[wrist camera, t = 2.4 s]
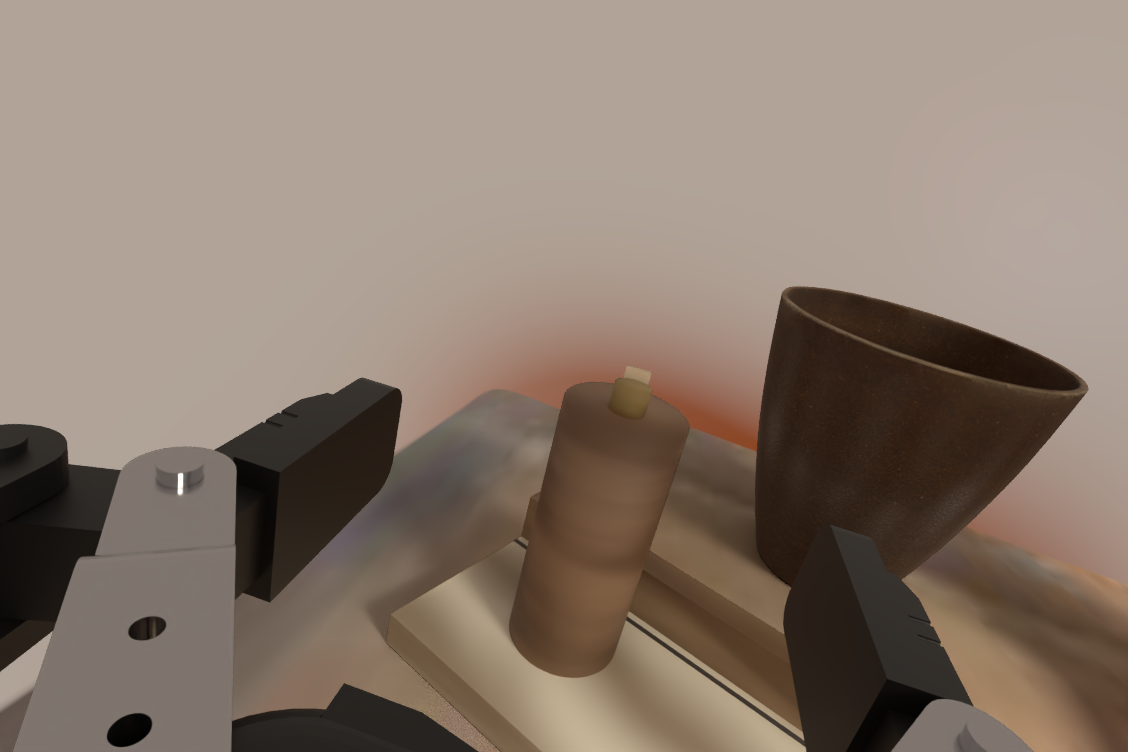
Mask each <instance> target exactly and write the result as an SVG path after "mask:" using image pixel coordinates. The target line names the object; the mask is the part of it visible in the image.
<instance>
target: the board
mask: <svg viewBox="0 0 1128 752" xmlns="http://www.w3.org/2000/svg"><path fill="white" fill-rule="evenodd" d="M539 497H540V492H539V493H537V494H535V495H533V496H532V497H531V498H530V502H529V506H528V510H527V515H526V519H525V523H524V527H523V531H522V536H521V537H519V538H518V539H515V540H514V541H513V542H511V543H509V544H508V545H506V546H504V547H503V548H501V549H499V550H498V551H496V552H494V553H492V554H491V555H489V556H487V557H486V558H484V559H482V560H481V561H479V562H477V563H476V564H474V565H472V566H470V567H469V568H467V569H465V570H464V571H462V572H460V573H459V574H457V575H455V576H454V577H452V578H450V579H449V580H447V581H445V582H443V583H442V584H440V585H438V586H437V587H435V588H433V589H432V590H430V591H428V592H427V593H425V594H423V595H422V596H420V597H418V598H416V599H415V600H413V601H411V602H410V603H408V604H406V605H405V606H403V607H401V608H400V609H398V610H396V611H395V612H393V613H391V614H390V620H389V627H388V634H387V640H386V643H387V644H388V645H389V646H391V647H392V648H393V649H394V650H395V651H396V652H397V653H398V654H399V655H400V656H401V657H402V658H403V659H404V660H405V661H406V662H407V663H408V664H409V665H411V666H412V667H413V668H414V669H415V670H416V671H417V672H418V673H419V674H420V675H421V676H422V677H423V678H424V679H425V680H426V681H427V682H428V683H429V684H431V685H432V686H433V687H434V688H435V689H436V690H437V691H438V692H439V693H440V694H441V695H442V696H443V697H444V698H445V699H446V700H447V701H448V702H449V703H451V704H452V705H453V706H454V707H455V708H456V709H457V710H458V711H459V712H460V713H461V714H462V715H463V716H464V717H465V718H466V719H467V720H468V721H469V722H471V723H472V724H473V725H474V726H475V727H476V728H477V729H478V730H479V731H480V732H481V733H482V734H483V735H484V736H485V737H486V738H487V739H488V740H489V741H491V742H492V743H493V744H494V745H495V746H496V747H497V748H498V749H499V750H500V751H501V752H806V747H805V741H804V736H803V731H802V725H801V720H800V714H799V709H798V703H797V698H796V693H795V687H794V682H793V676H792V671H791V665H790V660H789V655H788V649H787V644H786V638H785V635H784V634H782V633H781V632H779V631H777V630H776V629H774V628H773V627H771V626H769V625H768V624H766V623H765V622H763V621H761V620H760V619H758V618H757V617H755V616H753V615H752V614H750V613H749V612H747V611H745V610H744V609H742V608H741V607H739V606H737V605H736V604H734V603H733V602H731V601H729V600H728V599H726V598H724V597H723V596H721V595H720V594H718V593H716V592H715V591H713V590H712V589H710V588H708V587H707V586H705V585H704V584H702V583H700V582H699V581H697V580H696V579H694V578H692V577H691V576H689V575H688V574H686V573H684V572H683V571H681V570H680V569H678V568H676V567H675V566H673V565H672V564H670V563H668V562H667V561H665V560H664V559H662V558H660V557H659V556H657V555H656V554H654V553H652V552H651V551H649V552H648V555H647V558H646V561H645V564H644V567H643V570H642V573H641V576H640V579H639V582H638V585H637V588H636V591H635V594H634V597H633V600H632V603H631V606H630V609H629V612H628V615H627V618H626V621H625V624H624V627H623V630H622V633H621V636H620V639H619V642H618V645H617V648H616V651H615V654H614V656H613V658H612V660H611V662H610V663H609V664H608V665H607V666H606V667H605V668H604V669H603V670H601V671H600V672H598V673H596V674H593V675H590V676H587V677H581V678H567V677H561V676H556V675H553V674H550V673H547V672H545V671H543V670H541V669H539V668H537V667H535V666H534V665H532V664H531V663H530V662H528V661H527V660H526V659H525V658H524V657H523V656H522V655H521V654H520V653H519V651H518V650H517V649H516V647H515V645H514V643H513V642H512V639H511V636H510V632H509V620H510V616H511V612H512V607H513V603H514V599H515V595H516V591H517V587H518V583H519V579H520V575H521V571H522V566H523V562H524V558H525V554H526V550H527V546H528V542H529V538H530V534H531V529H532V525H533V521H534V517H535V513H536V509H537V505H538V501H539Z"/></svg>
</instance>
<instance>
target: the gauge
mask: <svg viewBox="0 0 1128 752" xmlns="http://www.w3.org/2000/svg"><path fill="white" fill-rule="evenodd" d="M650 376H651V372H649V371H645V370H642V369H638V368H635V367H631V366H627V368H626V371H625V374H624V376H623V378H618V379H616V380H615V384H613V383H603V382H588V383H581V384H577V385H574V386H572V387H570V388H569V389H567V391H566V392H565V394H564V398H563V402H562V406H561V410H560V414H559V418H558V423H557V427H556V431H555V435H554V439H553V443H552V447H551V451H550V455H549V460H548V464H547V468H546V472H545V476H544V480H543V484H542V488H541V492H540V497H539V501H538V505H537V509H536V513H535V517H534V521H533V525H532V529H531V534H530V538H529V542H528V546H527V550H526V554H525V558H524V562H523V566H522V571H521V575H520V579H519V583H518V587H517V591H516V595H515V599H514V603H513V607H512V612H511V616H510V620H509V632H510V636H511V639H512V642H513V643H514V645H515V647H516V649H517V650H518V651H519V653H520V654H521V655H522V656H523V657H524V658H525V659H526V660H527V661H528V662H530V663H531V664H532V665H534V666H535V667H537V668H539V669H541V670H543V671H545V672H547V673H550V674H553V675H556V676H561V677H567V678H581V677H587V676H590V675H593V674H596V673H598V672H600V671H601V670H603V669H604V668H605V667H606V666H607V665H608V664H609V663H610V662H611V660H612V658H613V656H614V654H615V651H616V648H617V645H618V642H619V639H620V636H621V633H622V630H623V627H624V624H625V621H626V618H627V615H628V612H629V609H630V606H631V603H632V600H633V597H634V594H635V591H636V588H637V585H638V582H639V579H640V576H641V573H642V570H643V567H644V564H645V561H646V558H647V555H648V552H649V549H650V546H651V543H652V540H653V537H654V534H655V531H656V529H657V526H658V523H659V520H660V517H661V514H662V511H663V508H664V505H665V502H666V499H667V496H668V493H669V490H670V487H671V484H672V481H673V478H674V475H675V472H676V469H677V466H678V463H679V460H680V457H681V454H682V451H683V448H684V445H685V442H686V439H687V436H688V433H689V429H690V428H689V423H688V421H687V419H686V418H685V416H684V415H683V414H682V413H681V412H680V411H679V410H677V409H676V408H675V407H674V406H672V405H670V404H669V403H668V402H666V401H664V400H662V399H660V398H658V397H656V396H654V395H652V394H651V393H652V389H651V387H650V386H648V384H649V380H650Z"/></svg>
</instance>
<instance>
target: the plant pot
mask: <svg viewBox="0 0 1128 752" xmlns="http://www.w3.org/2000/svg"><path fill="white" fill-rule="evenodd" d="M1087 391H1088V385H1087V384H1086V382H1085V381H1084V380H1083V379H1082V378H1080V377H1079V376H1078V375H1076V374H1075V373H1074V372H1072V371H1070V370H1069V369H1067V368H1065V367H1064V366H1062V365H1060V364H1058V363H1056V362H1054V361H1053V360H1051V359H1049V358H1046V357H1044V356H1042V355H1040V354H1038V353H1036V352H1034V351H1032V350H1029V349H1027V348H1025V347H1023V346H1020V345H1018V344H1015V343H1013V342H1010V341H1007V340H1005V339H1003V338H1000V337H997V336H995V335H992V334H989V333H987V332H984V331H981V330H979V329H975V328H972V327H969V326H967V325H964V324H961V323H958V322H955V321H952V320H949V319H946V318H943V317H940V316H936V315H933V314H930V313H927V312H923V311H920V310H916V309H913V308H910V307H906V306H902V305H899V304H895V303H891V302H888V301H884V300H879V299H875V298H871V297H867V296H863V295H858V294H854V293H848V292H844V291H838V290H831V289H825V288H816V287H789V288H787V289H785V290H784V291H783V292H782V296H781V300H780V305H779V310H778V315H777V319H776V324H775V329H774V334H773V339H772V344H771V349H770V354H769V359H768V365H767V371H766V377H765V384H764V390H763V396H762V405H761V412H760V421H759V431H758V443H757V459H756V482H755V515H756V539H757V548H758V551H759V553H760V555H761V557H762V559H763V560H764V561H765V563H766V564H767V565H768V567H769V568H770V569H771V570H772V571H773V572H774V573H775V574H776V575H777V576H779V577H780V578H781V579H782V580H784V581H785V582H786V583H788V584H789V585H790V586H793V583H794V581H795V579H796V577H797V575H798V573H799V570H800V568H801V566H802V564H803V562H804V560H805V558H806V555H807V553H808V551H809V549H810V547H811V545H812V542H813V540H814V538H815V536H816V534H817V532H818V531H819V529H820V528H821V527H822V526H823V525H825V524H829V525H833V526H836V527H839V528H842V529H845V530H849V531H852V532H855V533H858V534H861V535H864V536H868V537H870V538H871V539H872V540H873V541H874V544H875V546H876V548H877V550H878V552H879V554H880V556H881V559H882V561H883V563H884V565H885V567H886V569H887V571H888V572H889V573H892V574H895V575H897V576H898V577H899V578H900V579H903V578H904V577H905V576H907V575H908V574H909V573H911V572H912V571H913V570H915V569H916V568H917V567H919V566H920V565H921V564H922V563H923V562H925V561H926V560H927V559H928V558H930V557H931V556H932V555H933V554H935V553H936V552H937V551H938V550H940V549H941V548H942V547H943V546H944V545H945V544H946V543H948V542H949V541H950V540H951V539H952V538H953V537H954V536H956V535H957V534H958V533H959V532H960V531H961V530H962V529H963V528H964V527H965V526H966V525H968V524H969V523H970V522H971V521H972V520H973V519H974V518H975V517H976V516H977V515H978V514H979V513H980V512H981V511H982V510H983V509H984V508H985V507H986V506H987V505H988V504H989V503H990V502H991V501H992V500H993V499H994V498H995V497H996V496H997V495H998V494H999V493H1000V492H1001V491H1002V490H1003V489H1004V488H1005V487H1006V486H1007V485H1008V484H1009V483H1010V482H1011V481H1012V480H1013V479H1014V478H1015V477H1016V476H1017V475H1018V474H1019V473H1020V471H1021V470H1022V469H1023V468H1024V467H1025V466H1026V465H1027V464H1028V463H1029V462H1030V460H1031V459H1032V458H1033V457H1034V456H1035V455H1036V453H1037V452H1038V451H1039V450H1040V449H1041V448H1042V446H1043V445H1044V444H1045V443H1046V442H1047V440H1048V439H1049V438H1050V437H1051V436H1052V435H1053V433H1054V432H1055V431H1056V430H1057V429H1058V427H1059V426H1060V425H1061V424H1062V422H1063V421H1064V420H1065V419H1066V417H1067V416H1068V415H1069V414H1070V413H1071V411H1072V410H1073V409H1074V408H1075V406H1076V405H1077V404H1078V403H1079V401H1080V400H1081V399H1082V397H1083V396H1084V395H1085V394H1086V393H1087Z"/></svg>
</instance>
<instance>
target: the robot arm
mask: <svg viewBox="0 0 1128 752" xmlns="http://www.w3.org/2000/svg"><path fill="white" fill-rule="evenodd" d="M401 404H402V394H401V391H400V390H399V389H398V388H394V387H391V386H388V385H385V384H382V383H378V382H375V381H372V380H369V379H366V378H360V379H357V380H356V381H354V382H353V383H351V384H349V385H348V386H346V387H345V388H343V389H341V390H340V391H338V392H337V393H335V394H333V395H332V394H329V393H325V394H321V395H317V396H313V397H309V398H305V399H301V400H299V401H297V402H296V403H294V404H292V405H291V406H289V407H287V408H286V409H284V410H282V412H281V414H280V413H277V414H275V415H274V416H272V417H270V418H268V419H267V420H266V422H265V423H263V422H261V423H260V424H258V425H256V426H255V427H253V428H251V429H250V430H248V431H246V432H244V433H243V434H241V435H239V436H238V437H236V438H234V439H233V440H231V441H229V442H227V443H226V444H224V445H222V446H220V447H219V448H217V449H215V450H210V449H206V448H199V447H172V448H165V449H160V450H155V451H152V452H149V453H146V454H143V455H141V456H139V457H137V458H135V459H133V460H131V461H130V462H129V463H128V464H126V465H125V466H124V467H123V469H122V470H114V469H105V468H96V467H88V466H79V465H71V464H68V451H67V441H66V439H65V437H64V436H63V435H62V434H60V433H59V432H57V431H55V430H52V429H49V428H45V427H41V426H35V425H25V424H24V425H23V424H8V425H7V424H6V425H0V671H2V670H3V669H4V668H6V667H7V666H8V665H9V664H11V663H12V662H13V661H15V660H16V659H17V658H18V657H20V656H21V655H22V654H24V653H25V652H26V651H27V650H29V649H30V648H31V647H32V646H34V645H35V644H36V643H38V642H39V641H40V640H41V639H43V638H44V637H45V636H47V635H48V634H49V633H50V632H52V631H53V633H52V636H51V639H50V642H49V645H48V649H47V651H46V654H45V657H44V660H43V664H42V666H41V670H40V672H39V675H38V678H37V681H36V684H35V687H34V690H33V693H32V696H31V699H30V702H29V705H28V708H27V711H26V714H25V717H24V720H23V723H22V726H21V729H20V732H19V735H18V738H17V741H16V744H15V747H14V750H13V752H478V751H477V750H475V749H474V748H472V747H471V746H469V745H468V744H467V743H465V742H464V741H462V740H461V739H459V738H458V737H457V736H455V735H454V734H452V733H451V732H449V731H448V730H446V729H445V728H444V727H442V726H441V725H439V724H438V723H436V722H435V721H434V720H432V719H431V718H429V717H428V716H426V715H425V714H423V713H422V712H419V711H417V710H414V709H411V708H409V707H406V706H403V705H401V704H398V703H395V702H393V701H390V700H387V699H385V698H382V697H379V696H377V695H374V694H371V693H369V692H366V691H363V690H361V689H358V688H355V687H353V686H350V685H347V684H345V683H344V684H343V686H342V687H341V689H340V690H339V692H338V693H337V694H336V696H335V697H334V699H333V700H332V702H331V703H330V705H329V706H328V708H327V709H326V710H325V709H286V710H277V711H270V712H265V713H260V714H255V715H251V716H247V717H243V718H240V719H237V720H234V721H232V690H233V646H234V601H235V599H236V598H238V597H239V596H240V595H241V594H242V593H245V594H248V595H251V596H254V597H256V598H259V599H262V600H265V601H267V602H271V601H272V600H273V599H274V598H275V597H276V596H277V595H278V594H279V593H280V592H281V591H282V590H283V589H284V588H285V587H286V586H287V585H288V584H289V583H290V582H291V581H292V580H293V579H294V577H295V576H296V575H297V574H298V573H299V572H300V571H301V570H302V569H303V568H304V567H305V566H306V565H307V564H308V563H309V562H310V561H311V560H312V559H313V558H314V557H315V556H316V555H317V554H318V553H319V552H320V551H321V550H322V549H323V548H324V547H325V546H326V545H327V544H328V543H329V542H330V541H331V540H332V539H333V538H334V537H335V536H336V535H337V534H338V533H339V532H340V531H341V530H342V529H343V528H344V527H345V526H346V525H347V524H348V523H349V522H350V521H351V520H352V519H353V518H354V517H355V516H356V515H357V514H358V513H359V512H360V511H361V509H362V508H363V507H364V506H365V505H366V504H367V503H368V502H369V501H370V500H371V499H372V498H373V497H374V496H375V495H376V494H377V493H378V492H379V491H380V490H381V488H382V487H383V485H384V484H385V482H386V480H387V477H388V475H389V473H390V470H391V466H392V462H393V457H394V449H395V444H396V437H397V430H398V423H399V417H400V410H401ZM930 623H931V622H930V620H929V618H928V616H927V614H926V612H925V610H924V608H923V606H922V604H921V602H920V600H919V598H918V597H917V596H916V595H915V594H914V593H913V592H912V591H911V590H910V589H909V588H908V587H907V586H906V585H905V584H904V583H903V582H902V580H901V579H900V578H899V577H898V576H897V575H895V574H892V573H889V572H888V571H887V569H886V567H885V565H884V563H883V561H882V559H881V556H880V554H879V552H878V550H877V548H876V546H875V544H874V541H873V540H872V539H871V538H870V537H868V536H864V535H861V534H858V533H855V532H852V531H849V530H845V529H842V528H839V527H836V526H833V525H829V524H825V525H823V526H822V527H821V528H820V529H819V531H818V532H817V534H816V536H815V538H814V540H813V542H812V545H811V547H810V549H809V551H808V553H807V555H806V558H805V560H804V562H803V564H802V566H801V568H800V570H799V573H798V575H797V577H796V579H795V581H794V583H793V586H792V588H791V590H790V592H789V595H788V598H787V601H786V605H785V610H784V620H783V625H784V633H785V638H786V644H787V649H788V655H789V660H790V665H791V671H792V676H793V682H794V687H795V693H796V698H797V703H798V709H799V714H800V720H801V725H802V731H803V736H804V741H805V747H806V752H1033V751H1032V750H1031V748H1030V747H1029V746H1028V745H1027V744H1026V743H1025V742H1024V741H1023V740H1022V739H1021V738H1019V737H1018V736H1017V735H1016V734H1015V733H1014V732H1013V731H1011V730H1010V729H1009V728H1007V727H1006V726H1005V725H1004V724H1002V723H1001V722H999V721H998V720H996V719H995V718H993V717H992V716H990V715H988V714H987V713H985V712H983V711H981V710H979V709H977V708H975V707H974V706H973V704H972V702H971V700H970V698H969V696H968V694H967V692H966V690H965V688H964V686H963V684H962V682H961V680H960V679H959V677H958V675H957V673H956V671H955V669H954V667H953V665H952V663H951V661H950V659H949V657H948V655H947V653H946V651H945V649H944V647H941V646H940V643H941V641H940V639H939V637H938V635H937V633H936V631H935V630H934V628H933V627H932V626H930Z"/></svg>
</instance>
